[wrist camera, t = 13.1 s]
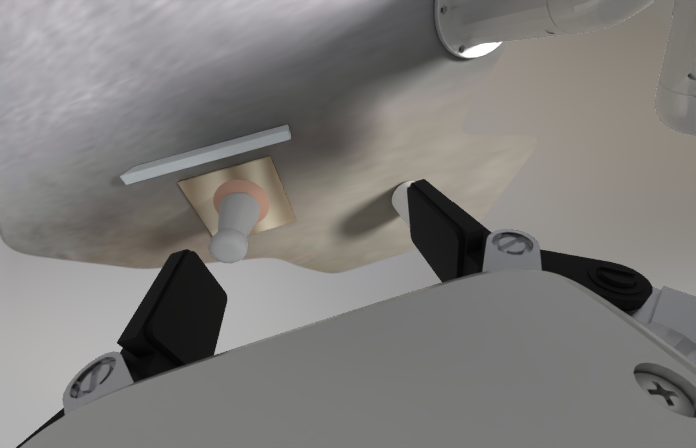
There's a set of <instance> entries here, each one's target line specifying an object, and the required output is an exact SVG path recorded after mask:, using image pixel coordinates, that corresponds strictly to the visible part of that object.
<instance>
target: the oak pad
mask: <svg viewBox="0 0 696 448" xmlns="http://www.w3.org/2000/svg"><path fill="white" fill-rule="evenodd" d="M178 184H179V186H180V187H181V189H182V190H183V192H184V193H185V195H186V196H187V198H188V199H189V201H190V203H191V204H192V206H193V207H194V209H195V210H196V212H197V213H198V215H199V216H200V218H201V219H202V221H203V222H204V224H205V225H206V227H207V228H208V230H209V231H210V233H211V234H212V236H214V235H215V234H216V233H217V232H218V219H219V207H220V204H221V201H222V200H223V199H224V198H225V197H226V196H227V195H228V194H232V193H235V192H240V193H241V192H247V193H248V194H249V195H250V196H252V197H254V198H255V200H256V201H257V202H258V203H259V207H260V215H259V218H258V220H257V222H256V224H255V225H254V227H253V229H252V231H251V232H250V234H249V235H251V234H255V233H258V232H262V231H265V230H268V229H272V228H275V227H278V226H282V225H285V224H288V223H292V222H295V221H296V218H295V216H294V213H293V211H292V208H291V206H290V203H289V201H288V198H287V196H286V193H285V191H284V188H283V186H282V183H281V181H280V178H279V176H278V173H277V171H276V168H275V166H274V163H273V161H272V158H271V156H267V157H263V158H260V159H256V160H253V161H249V162H245V163H242V164H238V165H235V166H231V167H228V168H224V169H220V170H217V171H213V172H210V173H206V174H202V175H199V176H195V177H192V178H188V179H185V180H181V181H178Z"/></svg>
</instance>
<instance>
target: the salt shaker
mask: <svg viewBox="0 0 696 448" xmlns="http://www.w3.org/2000/svg"><path fill="white" fill-rule="evenodd" d="M259 215H260V207H259V203H258V202H257V201H256V200H255V198H254V197H252V196H250V195H249V194H248V193H247V192H241V193H240V192H235V193H232V194H228V195H227V196H226V197H225V198H224V199H223V200H222V201H221V204H220V207H219V219H218V232H217V233H216V234H215V235H214V236H213V237H212V238H211V241H210V244H209V251H210V254H211V255H212V256H213V257H214V258H215V259H216V260H218V261H220V262H223V263H234V262H237V261H240V260H241V259H242V258H243V257H245V255H246V252H247V249H248V241H247V237H248V236H249V234H250V232H251V231H252V229H253V227H254V225H255V224H256V222H257V220H258V218H259Z"/></svg>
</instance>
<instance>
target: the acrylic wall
mask: <svg viewBox="0 0 696 448" xmlns="http://www.w3.org/2000/svg"><path fill="white" fill-rule="evenodd" d="M290 139H291V133H290V130H289V127H288V124H287V125H283V126H280V127H276V128H272V129H269V130H265V131H261V132H258V133H254V134H250V135H247V136H243V137H239V138H236V139H232V140H228V141H225V142H221V143H217V144H214V145H210V146H206V147H203V148H199V149H195V150H192V151H188V152H184V153H181V154H177V155H173V156H170V157H166V158H162V159H159V160H155V161H151V162H148V163H144V164H140V165H137V166H134V167H133V168H131V169H130V170H128V171H127V172H125V173H124V174H122V175H121V176H120V178H121V179H122V180H123V181H124V183H125V184H126V185H127V184H131V183H135V182H138V181H142V180H145V179H149V178H153V177H156V176H160V175H163V174H167V173H171V172H174V171H178V170H182V169H185V168H189V167H192V166H196V165H200V164H203V163H207V162H210V161H214V160H218V159H221V158H225V157H229V156H232V155H236V154H239V153H243V152H247V151H250V150H254V149H257V148H261V147H265V146H268V145H272V144H275V143H279V142H283V141H286V140H290Z"/></svg>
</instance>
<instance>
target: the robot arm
mask: <svg viewBox="0 0 696 448" xmlns="http://www.w3.org/2000/svg"><path fill="white" fill-rule="evenodd" d="M654 1H655V0H435V13H434V16H435V25H436V29H437V33H438V36H439V38H440V40H441V42H442V44H443V45H444V47H445V48H446V49H447V50H448V51H449V52H450V53H452V54H453V55H455V56H457V57H460V58H467V59H468V58H477V57H481V56H484V55H486V54H488V53H490V52H491V51H492V50H494V49H495V48H496V47H498V46H499V45H500V44H501V43H502V42H504V41H513V40H522V39H531V38H540V37H548V36H557V35H566V34H576V33H585V32H592V31H597V30H602V29H604V28H608V27H611V26H613V25H615V24H618V23H620V22H622V21H624V20H626V19H628V18H629V17H632V16H633V15H635V14H636V13H637V12H639V11H641V10H642V9H644V8H645V7H647V6H648V5H650V4H651V3H653V2H654ZM440 10H442V12H441V11H440ZM672 15H673V19H672V23H671V28H670V32H669V37H668V41H667V45H666V50H665V55H664V59H663V63H662V68H661V72H660V77H659V81H658V85H657V90H656V97H655V109H656V114H657V116H658V117H659V119H660V121H661V122H662V123H663V124H664V125H666V126H667V127H669V128H670V129H672V130H674V131H677V132H679V133H683V134H687V135H691V136H696V0H674V6H673V11H672ZM407 198H408V210H409V222H410V233H411V239H412V241H413V243H414V244H415V246H416V247H417V248H418V250H419V251H420V253H421V254H422V255H423V257H424V258H425V259H426V261H427V262H428V264H429V265H430V266H431V268H432V269H433V271H434V272H435V273H436V275H437V276H438V277H439V278H440V280H441V281H442V283H439V284H435V285H432V286H429V287H426V288H422V289H419V290H416V291H412V292H409V293H406V294H403V295H400V296H396V297H393V298H390V299H387V300H384V301H381V302H377V303H374V304H371V305H368V306H365V307H362V308H359V309H355V310H352V311H349V312H346V313H343V314H340V315H337V316H333V317H331V318H327V319H324V320H321V321H318V322H315V323H312V324H309V325H306V326H302V327H299V328H296V329H293V330H290V331H287V332H284V333H281V334H278V335H275V336H272V337H269V338H265V339H262V340H259V341H256V342H253V343H250V344H247V345H244V346H241V347H238V348H235V349H232V350H229V351H226V352H223V353H220V354H217V355H214V352H215V348H216V344H217V340H218V336H219V332H220V328H221V324H222V320H223V315H224V312H225V307H226V304H227V295H226V293H225V291H224V290H223V288H222V287H221V286H220V284H219V283H218V282H217V281H216V279H215V278H214V276H213V275H212V274H211V272H210V271H209V270H208V269H207V267H206V266H205V264H204V263H203V262H202V260H201V259H200V258H199V256H198V255H197V254H196V253H195V252H194V251H190V250H188V249H186V250H182V251H179V252H175V253H172V254H171V255H170V256H169V258H168V259H167V261H166V263H165V264H164V266H163V268H162V269H161V271H160V273H159V274H158V276H157V278H156V279H155V281H154V282H153V284H152V286H151V287H150V289H149V291H148V292H147V294H146V296H145V297H144V299H143V301H142V302H141V304H140V306H139V307H138V309H137V311H136V312H135V314H134V315H133V317H132V319H131V320H130V322H129V324H128V325H127V327H126V328H125V330H124V332H123V333H122V335H121V337H120V338H119V340H118V342H117V343H118V344H119V345H120V346H122V347H123V349H122V350H121V352H120V353H119V352H110V353H106V354H104V355H102V356H100V357H98V358H96V359H95V360H93V361H92V362H90V363H89V364H88V365H86V366H85V367H84V368H83V369H82V370H81V371H80V372H79V373H78V374H77V375H76V376H75V377H74V378H73V379H72V381H71V382H70V383H69V385H68V386H67V388H66V390H65V392H64V394H63V405H64V408H63V409H62V410H60V411H59V412H58V413H57V414H56V415H55V416H53V417H52V418H51V419H50V420H49V421H47V422H46V423H45V424H44V425H43V426H41V427H40V428H39V429H38V430H37V431H35V432H34V433H33V434H32V435H30V436H29V437H28V438H27V439H26V440H25V441H24V442H22V443H21V444H20V445H18V446H17V447H16V448H696V297H695V296H692V295H689V294H686V293H683V292H680V291H677V290H674V289H671V288H668V287H665V286H663V288H662V289H661V290H659V289H657V288H654V287H652V285H651V284H650V282H649V281H648V280H647V279H646V278H645V277H644V276H643V275H641V274H640V273H638V272H636V271H635V270H633V269H631V268H628V267H626V266H623V265H620V264H616V263H612V262H607V261H602V260H596V259H590V258H585V257H579V256H574V255H567V254H562V253H557V252H551V251H546V250H540V246H539V244H538V241H537V240H536V239H535V238H534V237H532V236H531V235H529V234H527V233H524V232H522V231H518V230H513V229H511V230H509V229H503V230H497V231H495V232H492V233H491V232H490V231H489V230H488V229H486V228H485V227H484V226H483V225H481V224H480V223H479V222H478V221H476V220H475V219H474V218H473V217H471V216H470V215H469V214H468V213H467V212H465V211H464V210H463V209H462V208H460V207H459V206H458V205H457V204H455V203H454V202H452V201H451V200H450V199H448V198H447V197H446V196H445V195H443V194H442V193H441V192H440V191H438V190H437V189H436V188H435V187H434V186H432V185H431V184H430V183H429V182H427V181H426V180H425V179H422V180H419V181H415V182H412V183H411V184H410V187H407Z"/></svg>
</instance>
